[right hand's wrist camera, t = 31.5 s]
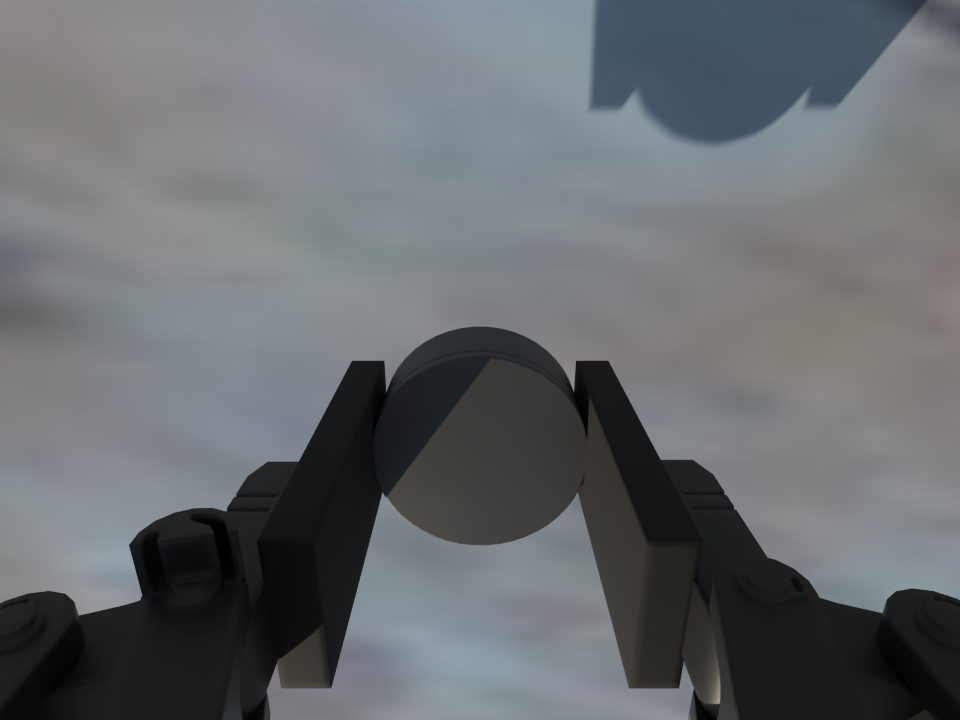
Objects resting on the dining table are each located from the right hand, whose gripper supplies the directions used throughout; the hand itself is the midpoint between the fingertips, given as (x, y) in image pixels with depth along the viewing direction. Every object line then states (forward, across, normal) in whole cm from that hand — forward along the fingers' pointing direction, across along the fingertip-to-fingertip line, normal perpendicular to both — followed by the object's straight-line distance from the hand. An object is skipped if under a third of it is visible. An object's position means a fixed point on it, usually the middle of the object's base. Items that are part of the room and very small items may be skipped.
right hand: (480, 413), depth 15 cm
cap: (-2, 0, 0) cm, 2 cm away
